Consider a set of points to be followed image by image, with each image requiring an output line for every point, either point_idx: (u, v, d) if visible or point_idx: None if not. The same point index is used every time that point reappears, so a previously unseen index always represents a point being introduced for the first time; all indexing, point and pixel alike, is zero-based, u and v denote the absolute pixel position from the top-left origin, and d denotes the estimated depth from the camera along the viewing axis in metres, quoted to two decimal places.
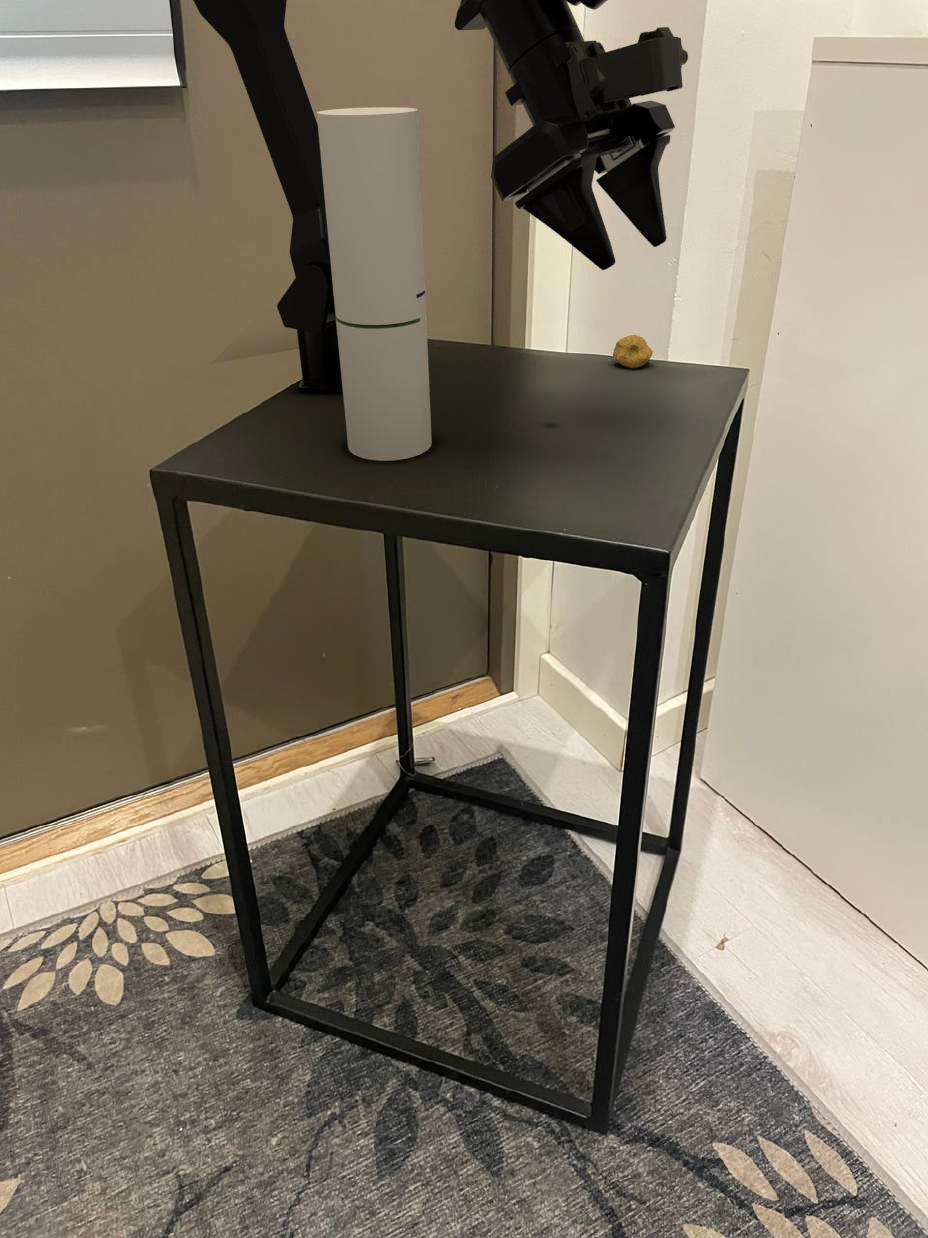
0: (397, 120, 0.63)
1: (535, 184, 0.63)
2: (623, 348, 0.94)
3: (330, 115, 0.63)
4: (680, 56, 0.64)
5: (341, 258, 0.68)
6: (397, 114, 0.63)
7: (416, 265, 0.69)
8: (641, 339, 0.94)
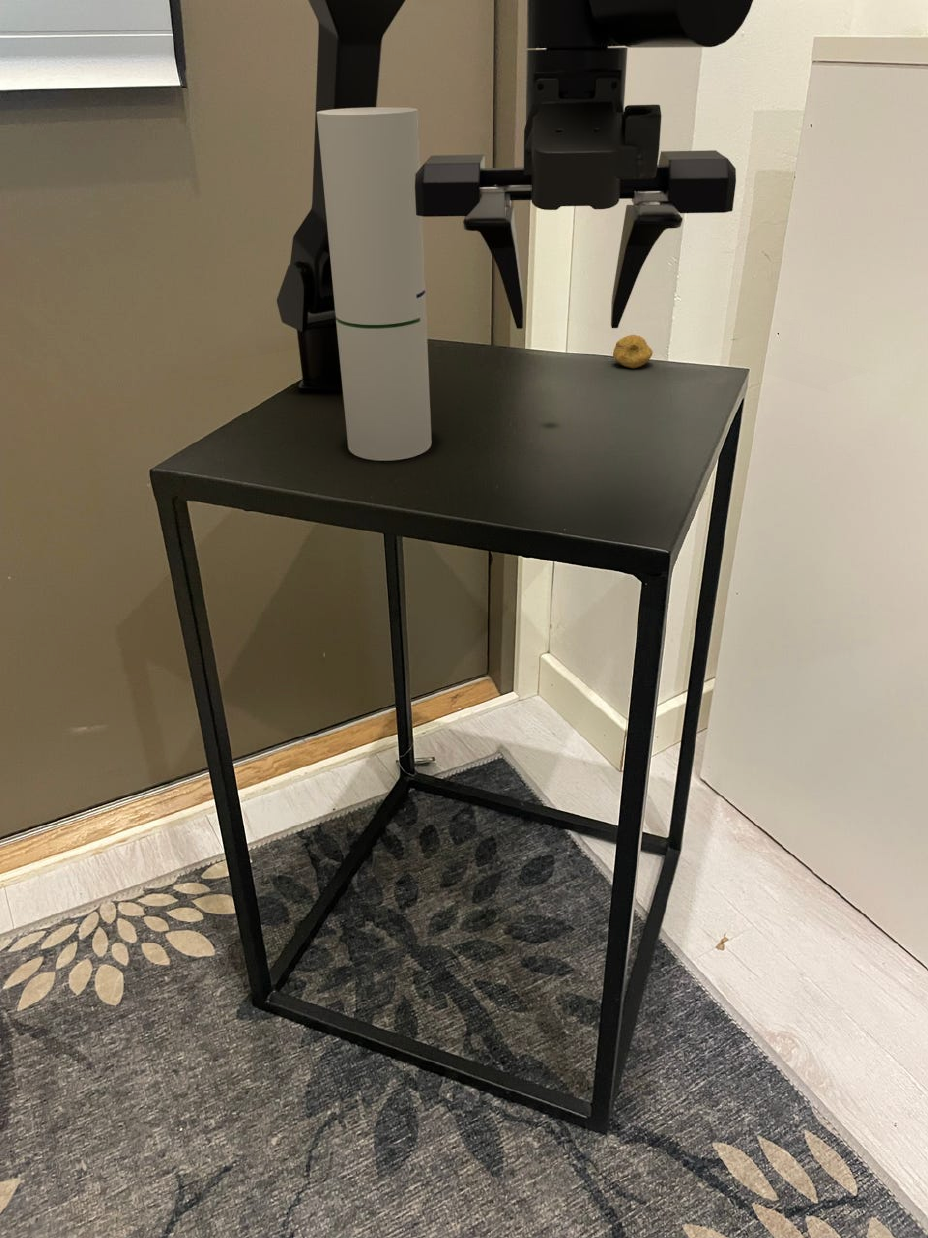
0: (397, 120, 0.63)
1: None
2: (623, 348, 0.94)
3: (330, 115, 0.63)
4: (613, 173, 0.48)
5: (341, 258, 0.68)
6: (397, 114, 0.63)
7: (416, 265, 0.69)
8: (641, 339, 0.94)
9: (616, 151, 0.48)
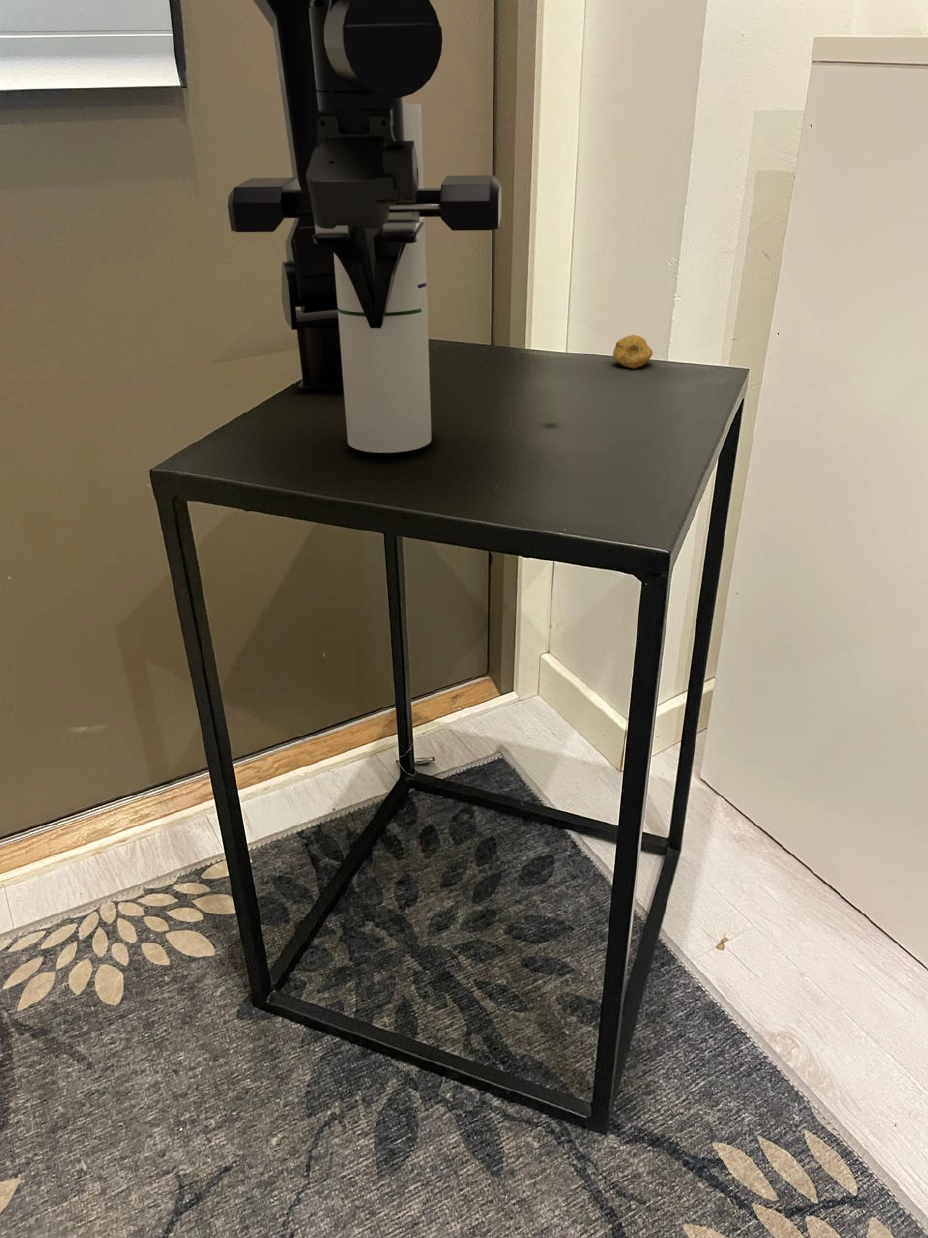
0: None
1: None
2: (623, 348, 0.94)
3: None
4: (375, 199, 0.57)
5: None
6: None
7: (418, 255, 0.70)
8: (641, 339, 0.94)
9: (374, 180, 0.56)
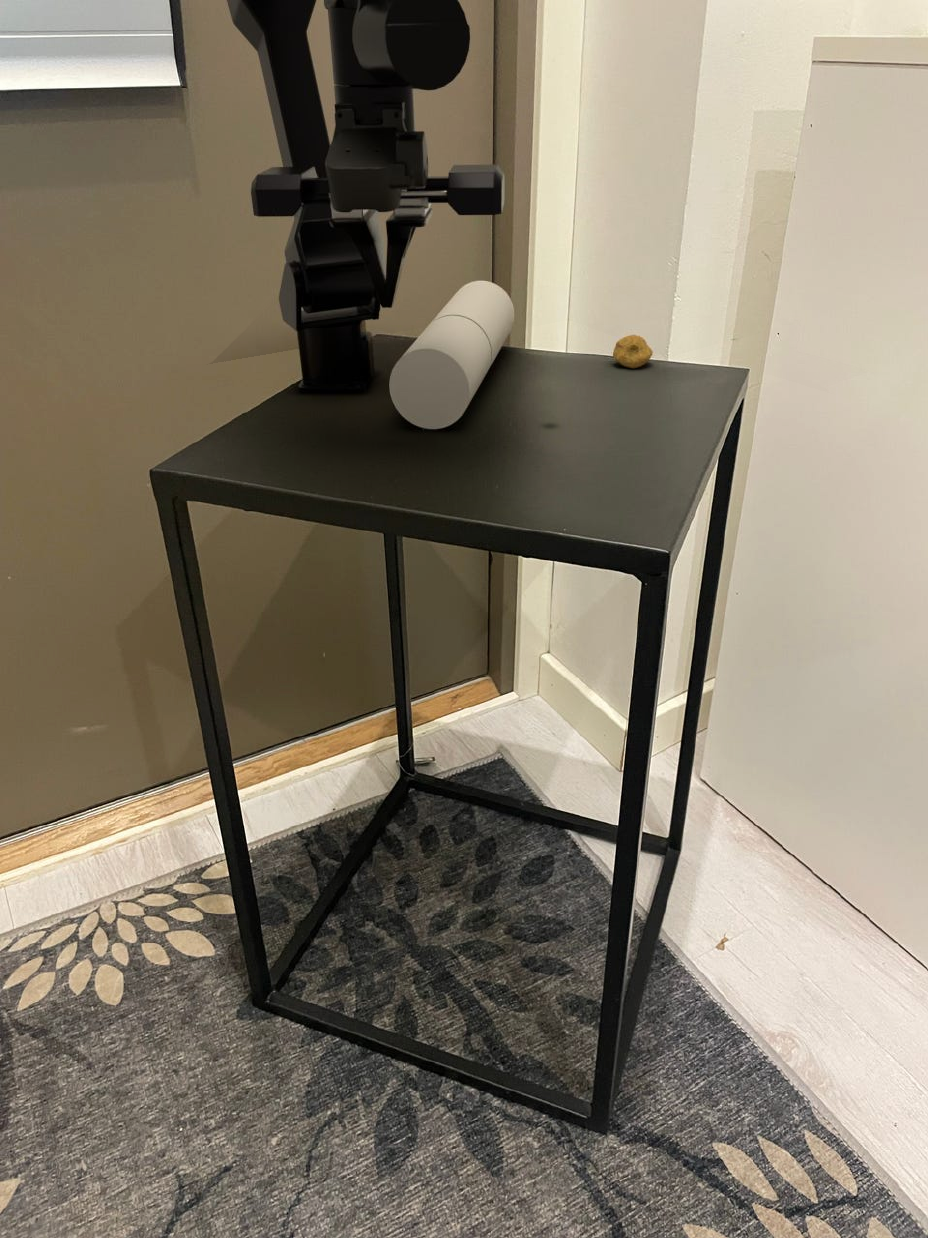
0: (513, 320, 0.99)
1: None
2: (623, 348, 0.94)
3: (490, 282, 0.98)
4: (388, 184, 0.62)
5: (473, 303, 0.90)
6: None
7: (494, 358, 0.92)
8: (641, 339, 0.94)
9: (387, 167, 0.61)
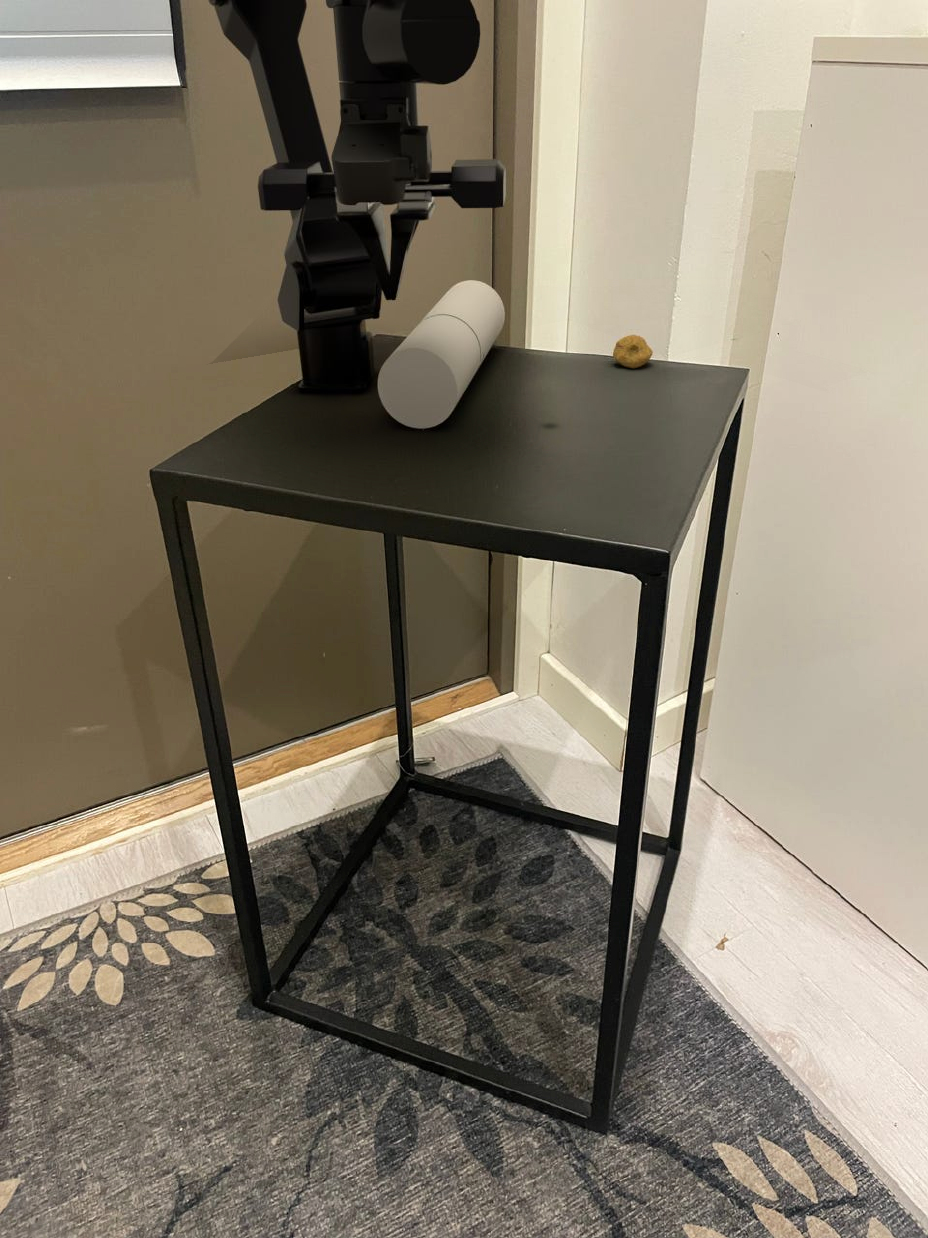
0: (503, 310, 0.99)
1: None
2: (623, 348, 0.94)
3: (471, 280, 0.98)
4: (393, 178, 0.64)
5: (452, 301, 0.91)
6: None
7: (487, 347, 0.92)
8: (641, 339, 0.94)
9: (392, 161, 0.63)
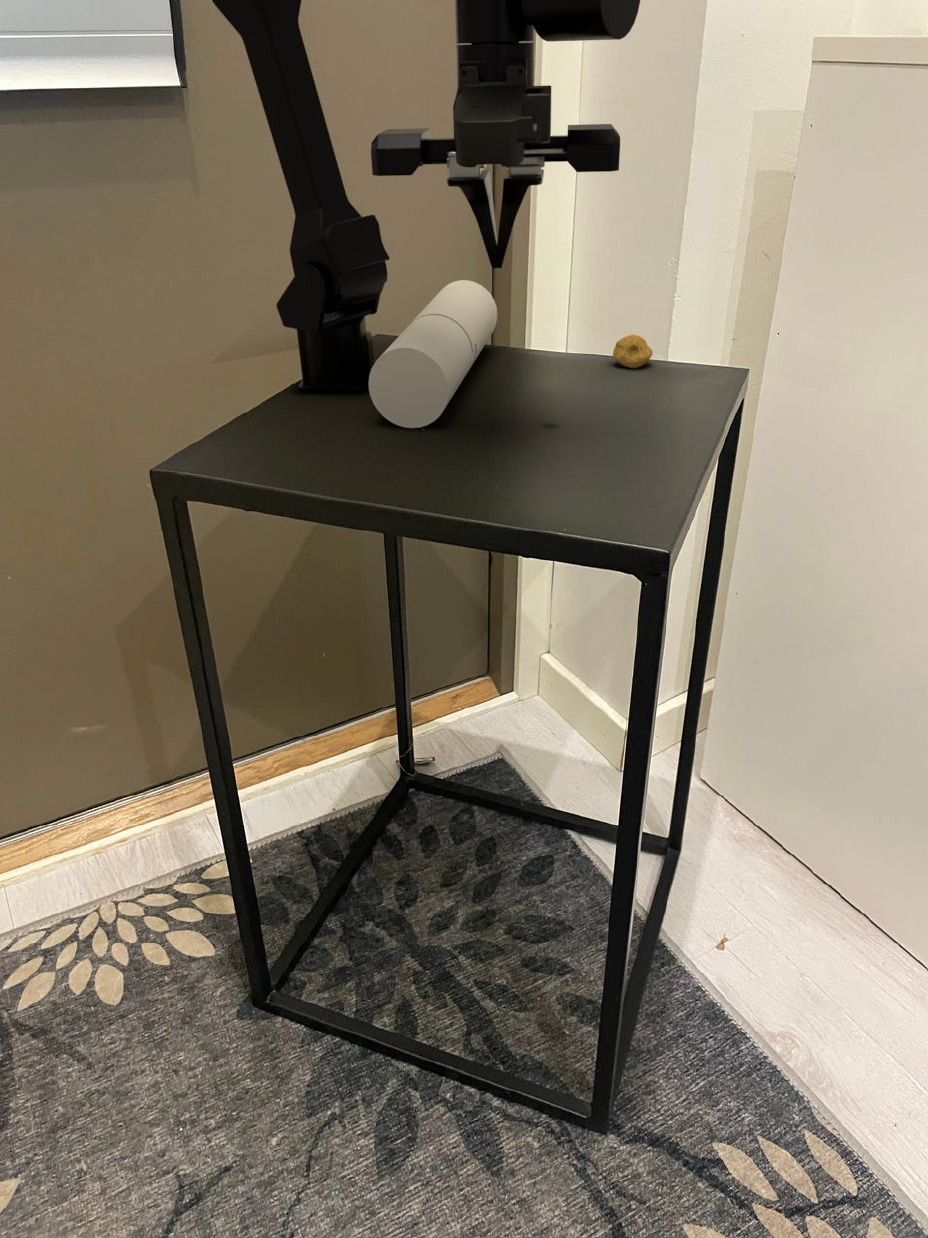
0: (493, 302, 0.99)
1: None
2: (623, 348, 0.94)
3: (456, 281, 0.99)
4: (515, 138, 0.63)
5: (436, 302, 0.91)
6: (494, 301, 0.99)
7: (480, 339, 0.91)
8: (641, 339, 0.94)
9: (516, 120, 0.62)
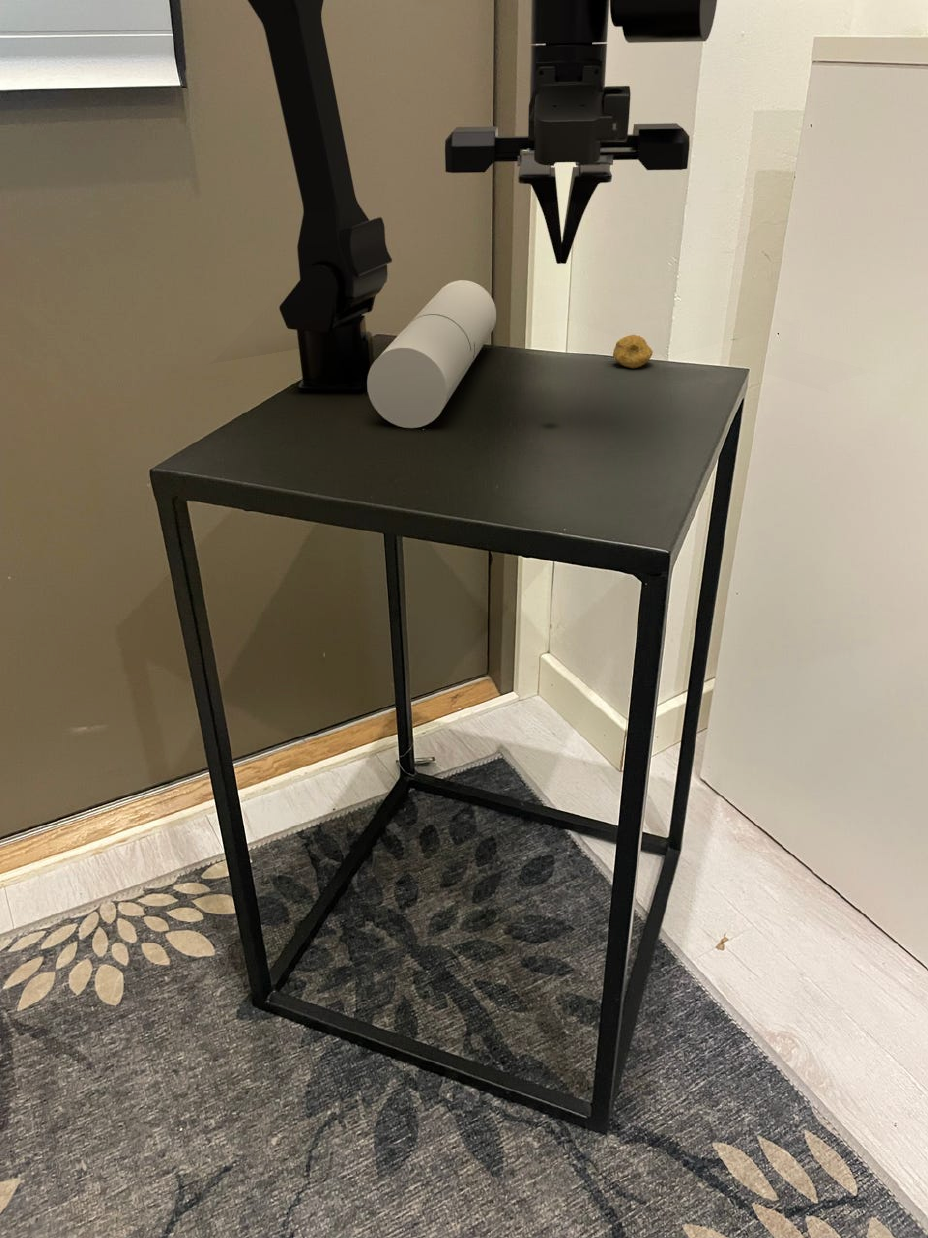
0: (492, 301, 0.99)
1: None
2: (623, 348, 0.94)
3: (454, 281, 0.99)
4: (595, 137, 0.65)
5: (433, 303, 0.91)
6: (492, 300, 0.99)
7: (478, 338, 0.91)
8: (641, 339, 0.94)
9: (597, 120, 0.64)
